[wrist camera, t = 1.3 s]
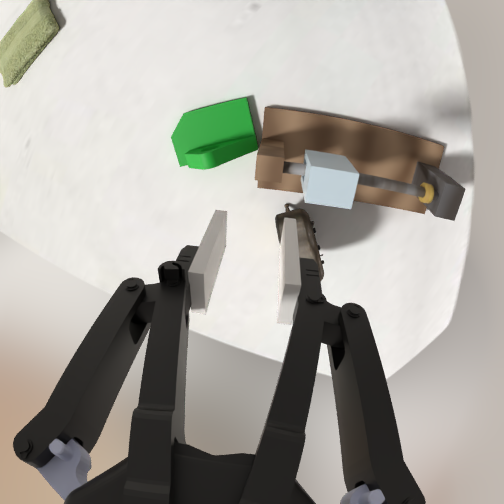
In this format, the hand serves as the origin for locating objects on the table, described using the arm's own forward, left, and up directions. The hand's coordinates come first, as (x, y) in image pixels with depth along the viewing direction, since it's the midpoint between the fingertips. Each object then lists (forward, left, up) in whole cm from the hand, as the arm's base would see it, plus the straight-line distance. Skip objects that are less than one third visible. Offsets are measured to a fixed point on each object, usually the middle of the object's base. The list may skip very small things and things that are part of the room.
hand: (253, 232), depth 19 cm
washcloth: (-24, -47, -25) cm, 59 cm away
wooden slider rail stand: (0, +13, -25) cm, 28 cm away
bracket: (-2, -8, -25) cm, 27 cm away
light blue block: (0, +7, -18) cm, 19 cm away
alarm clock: (+12, +6, -25) cm, 28 cm away
